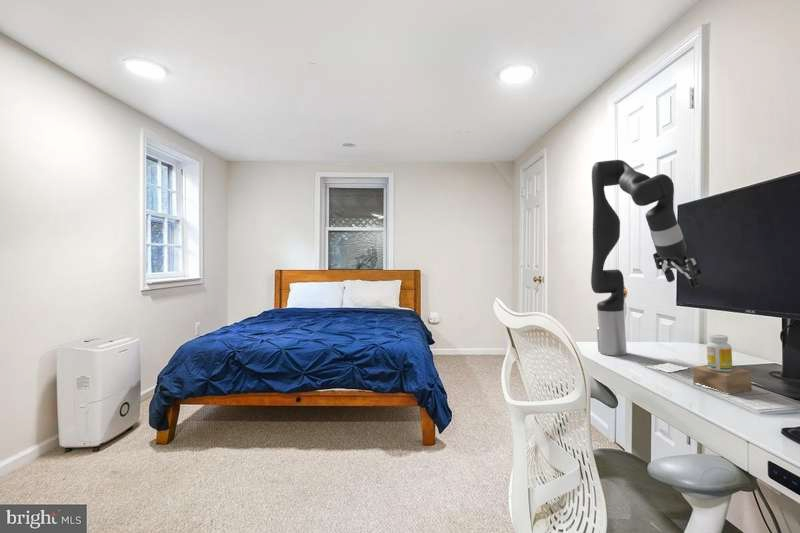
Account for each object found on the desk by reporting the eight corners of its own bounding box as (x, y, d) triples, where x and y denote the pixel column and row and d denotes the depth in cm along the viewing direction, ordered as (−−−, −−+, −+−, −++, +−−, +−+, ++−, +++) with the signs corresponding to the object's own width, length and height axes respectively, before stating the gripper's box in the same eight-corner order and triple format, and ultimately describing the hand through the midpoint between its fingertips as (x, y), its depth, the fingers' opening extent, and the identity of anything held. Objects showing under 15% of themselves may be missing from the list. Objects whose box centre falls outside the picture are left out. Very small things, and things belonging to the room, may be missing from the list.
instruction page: (646, 367, 126) (646, 366, 126) (666, 362, 130) (666, 361, 130) (669, 373, 119) (669, 372, 119) (690, 368, 122) (690, 367, 122)
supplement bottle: (705, 370, 105) (703, 336, 105) (710, 365, 109) (708, 333, 109) (730, 373, 101) (728, 338, 101) (734, 368, 104) (732, 335, 104)
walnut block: (693, 384, 108) (692, 367, 108) (716, 379, 110) (715, 363, 110) (727, 394, 100) (726, 375, 99) (751, 389, 102) (750, 371, 102)
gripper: (699, 235, 106) (714, 283, 109) (659, 230, 119) (674, 273, 123) (677, 248, 105) (692, 295, 109) (639, 241, 119) (654, 284, 123)
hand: (682, 283), depth 116 cm, fingers open, 8 cm apart
